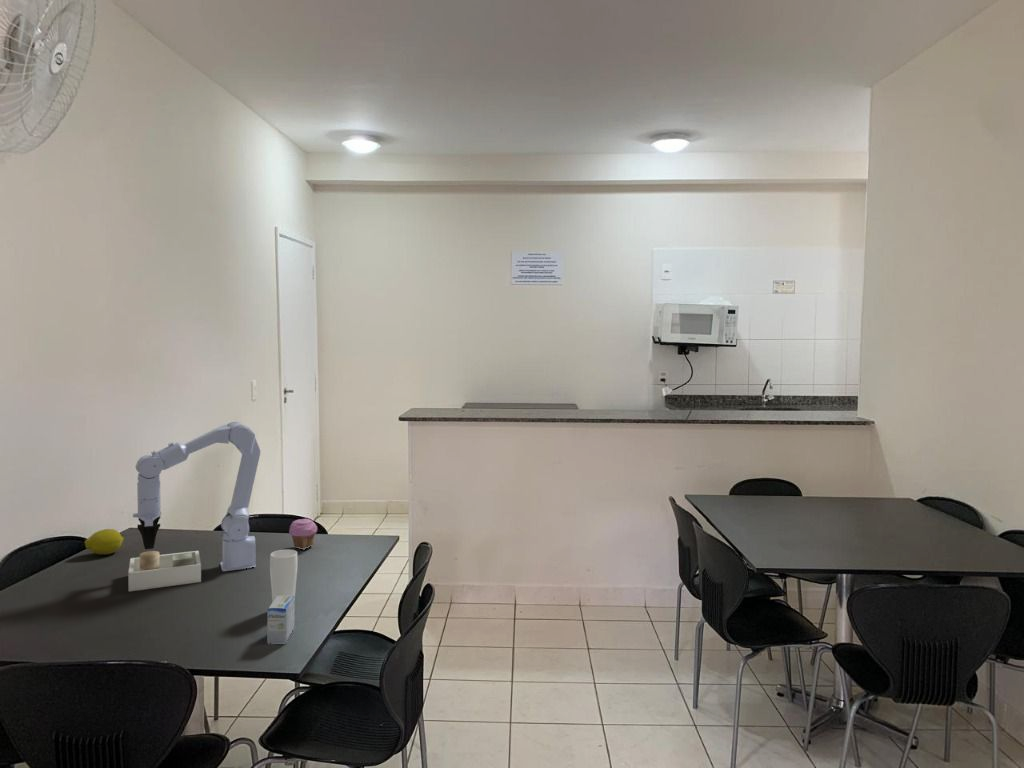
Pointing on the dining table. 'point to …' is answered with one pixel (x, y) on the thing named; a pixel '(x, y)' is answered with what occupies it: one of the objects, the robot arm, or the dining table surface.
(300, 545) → the cupcake
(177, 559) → the sage cube
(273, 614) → the medicine box
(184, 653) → the dining table surface
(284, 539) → the dining table surface
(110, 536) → the lemon
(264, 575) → the dining table surface
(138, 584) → the box
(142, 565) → the wooden cylinder
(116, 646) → the dining table surface
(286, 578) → the drinking glass
